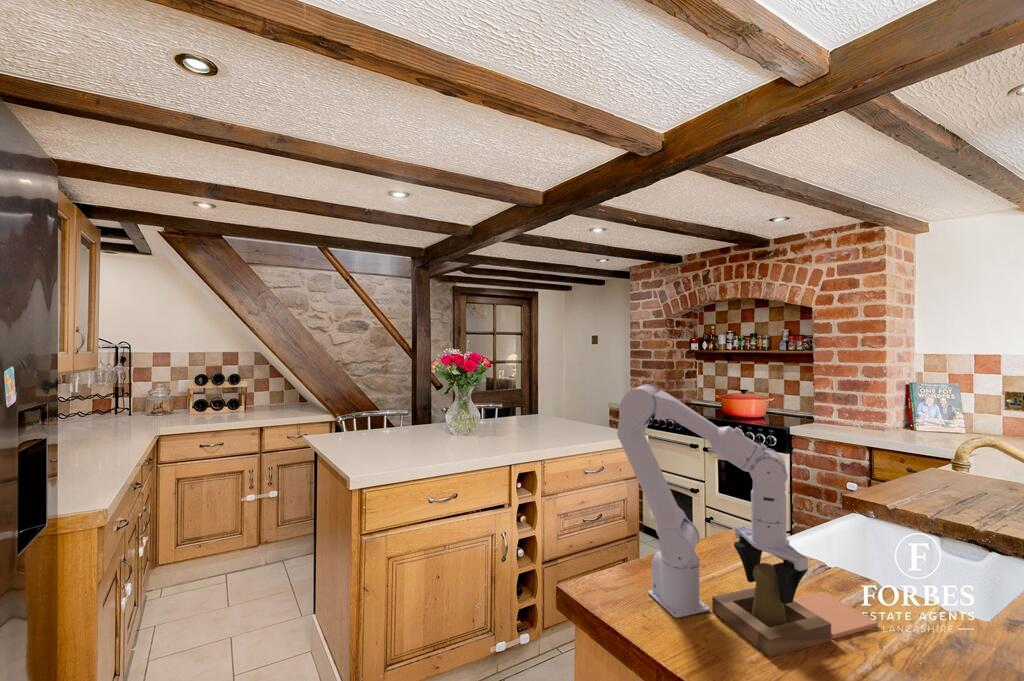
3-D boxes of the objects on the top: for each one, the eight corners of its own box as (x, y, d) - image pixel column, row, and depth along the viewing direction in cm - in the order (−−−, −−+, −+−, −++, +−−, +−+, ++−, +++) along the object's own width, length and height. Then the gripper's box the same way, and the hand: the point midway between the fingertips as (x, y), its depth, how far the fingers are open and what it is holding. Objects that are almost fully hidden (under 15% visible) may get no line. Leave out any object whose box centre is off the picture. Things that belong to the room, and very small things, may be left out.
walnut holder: (712, 611, 92) (712, 596, 92) (768, 599, 96) (768, 584, 96) (769, 657, 79) (769, 639, 79) (831, 640, 83) (831, 623, 83)
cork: (778, 616, 90) (778, 559, 90) (794, 637, 84) (794, 575, 84) (745, 615, 91) (745, 558, 91) (758, 635, 85) (758, 574, 85)
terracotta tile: (780, 605, 94) (780, 601, 94) (822, 595, 97) (822, 591, 97) (832, 638, 84) (832, 634, 84) (877, 626, 87) (877, 622, 87)
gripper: (821, 529, 82) (822, 608, 82) (754, 501, 95) (755, 569, 96) (789, 535, 79) (790, 616, 80) (726, 506, 93) (726, 574, 94)
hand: (769, 591), depth 87 cm, fingers open, 7 cm apart
